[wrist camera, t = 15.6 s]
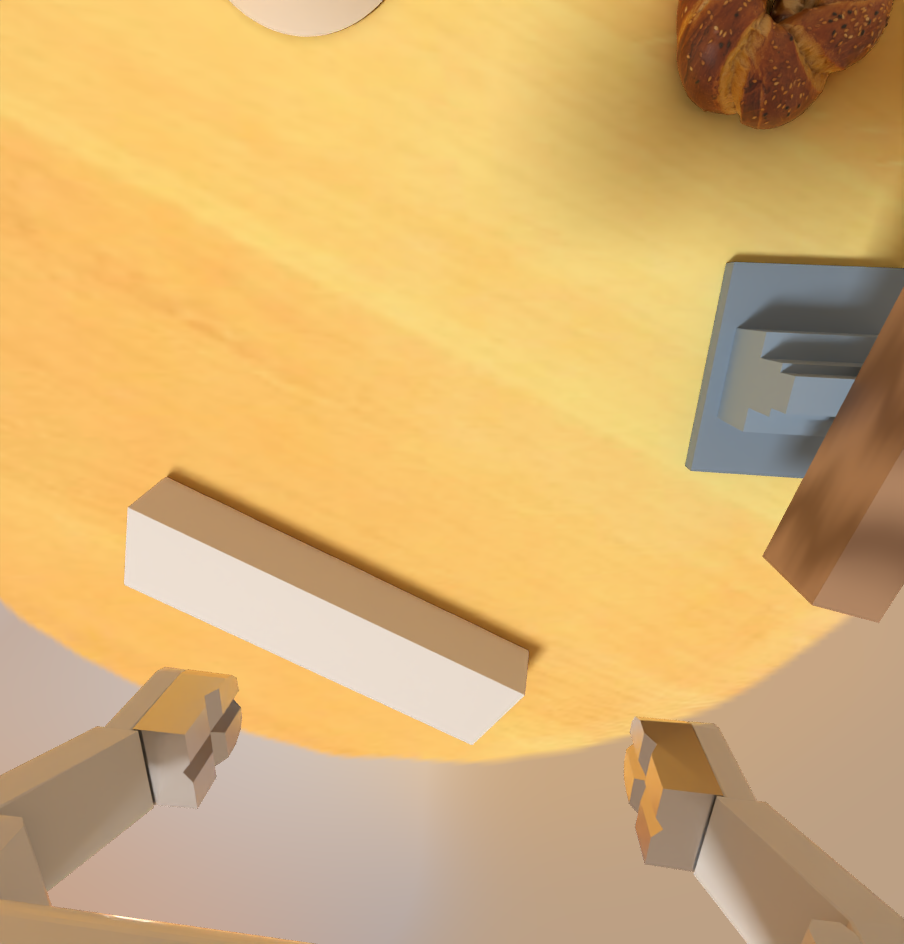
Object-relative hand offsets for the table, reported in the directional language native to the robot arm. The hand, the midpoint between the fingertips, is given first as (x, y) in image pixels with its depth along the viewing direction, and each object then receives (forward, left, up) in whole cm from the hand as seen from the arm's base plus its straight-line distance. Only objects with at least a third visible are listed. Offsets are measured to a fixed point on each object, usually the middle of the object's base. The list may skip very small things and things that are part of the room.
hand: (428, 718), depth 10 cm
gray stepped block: (-4, +21, -29) cm, 36 cm away
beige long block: (+19, -12, -30) cm, 37 cm away
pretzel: (-24, +15, -30) cm, 41 cm away
